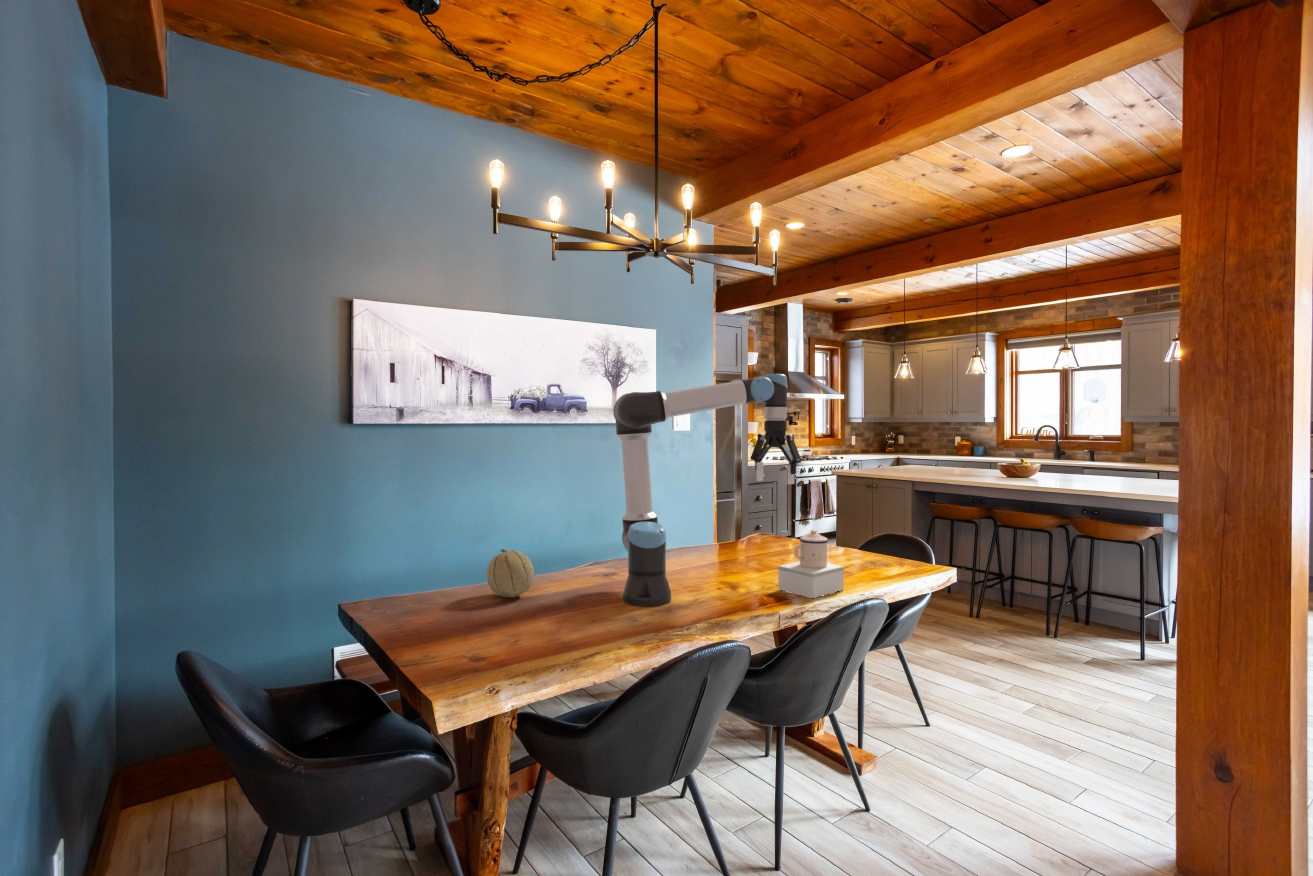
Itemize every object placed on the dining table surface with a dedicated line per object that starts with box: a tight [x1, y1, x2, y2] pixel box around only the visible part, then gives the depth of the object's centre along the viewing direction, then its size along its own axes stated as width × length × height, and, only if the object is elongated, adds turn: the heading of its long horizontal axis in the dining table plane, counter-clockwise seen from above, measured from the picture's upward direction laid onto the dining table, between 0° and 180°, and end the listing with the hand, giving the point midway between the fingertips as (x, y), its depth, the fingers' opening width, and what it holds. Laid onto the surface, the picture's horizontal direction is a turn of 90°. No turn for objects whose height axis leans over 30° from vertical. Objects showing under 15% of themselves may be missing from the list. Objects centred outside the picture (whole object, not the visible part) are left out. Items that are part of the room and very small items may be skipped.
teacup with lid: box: [793, 529, 829, 568], centre depth 218 cm, size 12×9×12 cm
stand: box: [777, 560, 845, 599], centre depth 218 cm, size 14×16×8 cm
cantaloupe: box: [486, 548, 535, 599], centre depth 209 cm, size 15×15×15 cm
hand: (775, 482), depth 225 cm, fingers open, 13 cm apart
